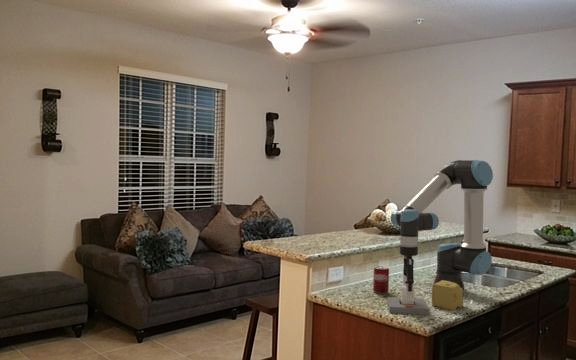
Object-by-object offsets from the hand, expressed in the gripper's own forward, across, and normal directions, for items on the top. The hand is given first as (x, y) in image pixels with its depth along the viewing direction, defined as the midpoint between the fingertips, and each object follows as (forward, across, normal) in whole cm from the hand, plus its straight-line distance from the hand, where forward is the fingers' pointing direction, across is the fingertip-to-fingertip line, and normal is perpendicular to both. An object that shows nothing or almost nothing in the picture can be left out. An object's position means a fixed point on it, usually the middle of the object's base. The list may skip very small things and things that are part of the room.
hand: (407, 294), depth 221 cm
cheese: (+6, -8, +18) cm, 20 cm away
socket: (+6, 0, 0) cm, 6 cm away
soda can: (+6, -26, -10) cm, 28 cm away
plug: (+6, 0, 0) cm, 6 cm away
